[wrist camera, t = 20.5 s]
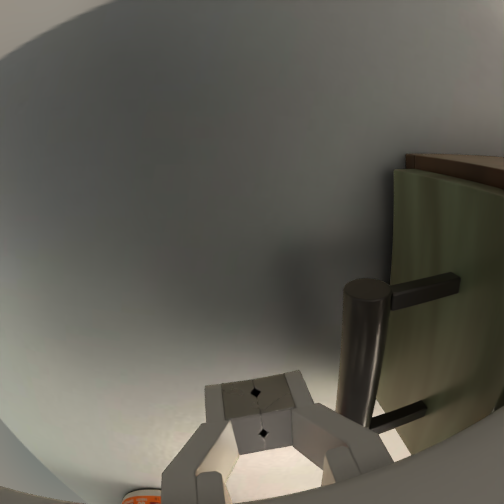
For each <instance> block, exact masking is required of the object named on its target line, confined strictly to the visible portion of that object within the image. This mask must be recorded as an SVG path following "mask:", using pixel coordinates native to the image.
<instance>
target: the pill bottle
mask: <svg viewBox="0 0 504 504" xmlns="http://www.w3.org/2000/svg"><path fill="white" fill-rule="evenodd" d="M122 504H161V490H138V491H134V492H130V493H128V494H127V495H126V496H125V497H124V498H123V500H122Z"/></svg>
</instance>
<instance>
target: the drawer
mask: <svg viewBox="0 0 504 504" xmlns="http://www.w3.org/2000/svg"><path fill="white" fill-rule="evenodd" d="M376 399H377V401H378V402H379V404H380V406H381V407H382V409H383V410H384V412H385V414H382V415H379V416H376V417H372V414H373V410H374V405H375V400H376ZM502 406H504V189H500V188H496V187H493V186H489V185H485V184H481V183H477V182H473V181H469V180H465V179H461V178H456V177H452V176H447V175H443V174H438V173H434V172H429V171H424V170H419V169H395V170H394V221H393V247H392V264H391V278H390V285H389V284H387V283H386V282H384V281H381V280H378V279H371V278H362V279H356V280H352V281H350V282H348V283H347V284H346V285H345V286H344V289H343V317H342V337H341V353H340V367H339V379H338V390H337V400H336V410H335V412H337V413H339V414H341V415H342V416H344V417H346V418H348V419H350V420H352V421H354V422H356V423H358V424H360V425H362V426H364V427H366V428H368V429H370V430H372V431H374V432H376V433H378V434H380V433H383V432H386V431H389V430H391V429H394V428H395V429H396V431H397V432H398V434H399V436H400V437H401V439H402V440H403V442H404V444H405V445H406V447H407V448H408V450H409V452H410V453H411V455H413V454H416V453H418V452H420V451H422V450H425V449H427V448H429V447H431V446H433V445H435V444H437V443H439V442H441V441H443V440H445V439H447V438H449V437H451V436H453V435H455V434H457V433H459V432H461V431H462V430H464V429H466V428H468V427H470V426H471V425H473V424H475V423H477V422H478V421H480V420H482V419H483V418H485V417H487V416H488V415H490V414H491V413H493V412H495V411H496V410H498V409H499V408H501V407H502Z"/></svg>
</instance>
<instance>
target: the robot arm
mask: <svg viewBox="0 0 504 504" xmlns="http://www.w3.org/2000/svg"><path fill="white" fill-rule="evenodd" d="M205 408H206V423H202V424H201V425H200V426H199V428H198V429H197V430H196V431H195V433H194V434H193V435H192V437H191V438H190V439H189V440H188V442H187V443H186V444H185V445H184V447H183V448H182V449H181V451H180V452H179V453H178V454H177V456H176V457H175V458H174V459H173V461H172V462H171V463H170V464H169V465H168V467H167V468H166V469H165V470H164V472H163V473H162V483H161V504H233V503H232V500H231V498H230V495H229V492H228V490H227V487H226V484H225V483H226V481H227V479H228V478H229V476H230V474H231V472H232V470H233V468H234V466H235V464H236V462H237V460H238V458H239V455H242V454H248V453H253V452H259V451H264V450H269V449H275V448H281V447H287V446H292V445H293V447H294V448H295V449H296V450H298V451H299V452H300V453H301V454H303V455H304V456H305V457H307V458H308V459H309V460H310V461H312V462H313V463H314V464H316V465H317V466H318V467H319V468H321V469H322V470H323V476H322V484H321V487H318V488H314V489H310V490H306V491H302V492H298V493H293V494H288V495H284V496H278V497H273V498H268V499H262V500H256V501H249V502H242V503H234V504H504V406H502V407H501V408H499V409H498V410H496V411H495V412H493V413H491V414H490V415H488V416H487V417H485V418H483V419H482V420H480V421H478V422H477V423H475V424H473V425H471V426H470V427H468V428H466V429H464V430H462V431H461V432H459V433H457V434H455V435H453V436H451V437H449V438H447V439H445V440H443V441H441V442H439V443H437V444H435V445H433V446H431V447H429V448H427V449H425V450H422V451H420V452H418V453H416V454H413V455H411V456H409V457H406V458H404V459H402V460H399V461H397V462H394V461H393V459H392V458H391V456H390V454H389V452H388V451H387V449H386V447H385V445H384V444H383V442H382V440H381V438H380V437H379V435H378V433H376V432H374V431H372V430H370V429H368V428H366V427H364V426H362V425H360V424H358V423H356V422H354V421H352V420H350V419H348V418H346V417H344V416H342V415H341V414H339V413H337V412H335V411H333V410H331V409H329V408H328V407H326V406H324V405H322V404H320V403H316V404H314V402H313V399H312V397H311V395H310V392H309V390H308V388H307V385H306V383H305V381H304V379H303V376H302V374H301V372H300V371H299V370H296V371H292V372H287V373H283V374H279V375H273V376H268V377H263V378H257V379H252V380H245V381H238V382H230V383H222V384H216V385H207V386H205ZM0 504H84V503H75V502H70V501H63V500H57V499H52V498H47V497H42V496H37V495H33V494H28V493H24V492H20V491H16V490H12V489H9V488H5V487H2V486H0Z"/></svg>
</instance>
